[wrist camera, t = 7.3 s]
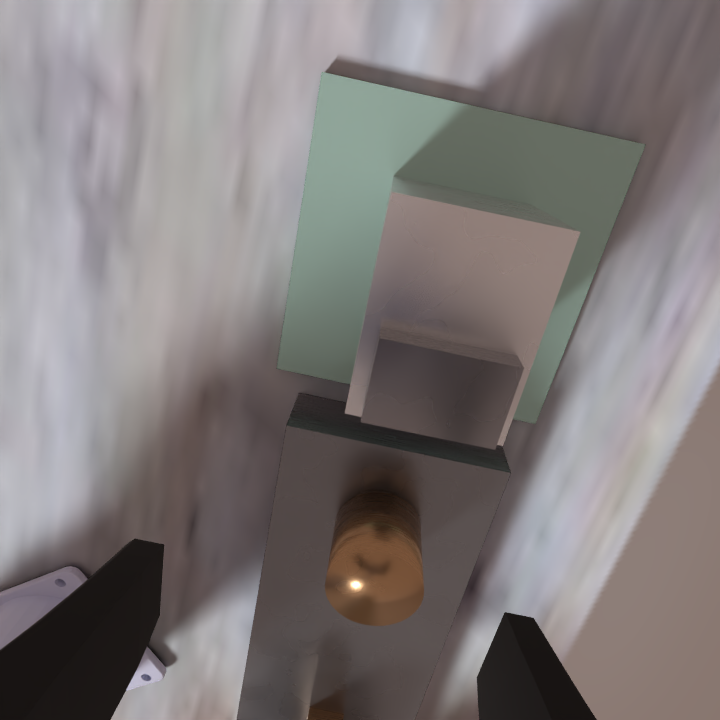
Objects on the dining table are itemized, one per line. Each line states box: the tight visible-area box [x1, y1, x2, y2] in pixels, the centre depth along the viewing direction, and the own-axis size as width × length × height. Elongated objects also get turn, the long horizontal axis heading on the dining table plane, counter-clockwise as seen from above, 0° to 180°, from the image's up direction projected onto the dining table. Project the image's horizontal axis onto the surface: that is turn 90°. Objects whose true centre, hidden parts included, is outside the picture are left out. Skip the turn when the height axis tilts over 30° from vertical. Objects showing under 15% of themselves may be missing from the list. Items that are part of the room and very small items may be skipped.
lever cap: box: [345, 175, 580, 450], centre depth 15 cm, size 6×4×6 cm
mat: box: [276, 72, 646, 424], centre depth 18 cm, size 10×10×1 cm
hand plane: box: [237, 393, 511, 720], centre depth 22 cm, size 20×8×6 cm, turn 169°
